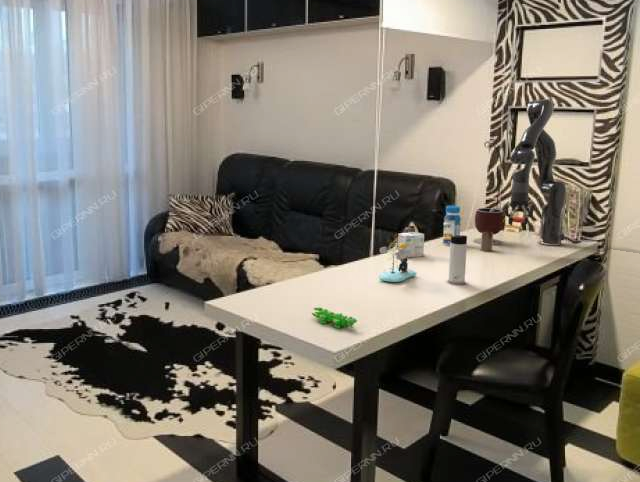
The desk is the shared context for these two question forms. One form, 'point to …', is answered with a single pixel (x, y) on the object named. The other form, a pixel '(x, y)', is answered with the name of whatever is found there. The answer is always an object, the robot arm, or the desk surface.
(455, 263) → the travel mug
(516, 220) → the lid
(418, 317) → the desk surface
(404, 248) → the penguin figurine
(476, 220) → the mate gourd
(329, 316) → the crocodile figurine
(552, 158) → the robot arm
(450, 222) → the blue labeled canister
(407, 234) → the light bulb box
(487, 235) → the jar
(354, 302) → the desk surface
